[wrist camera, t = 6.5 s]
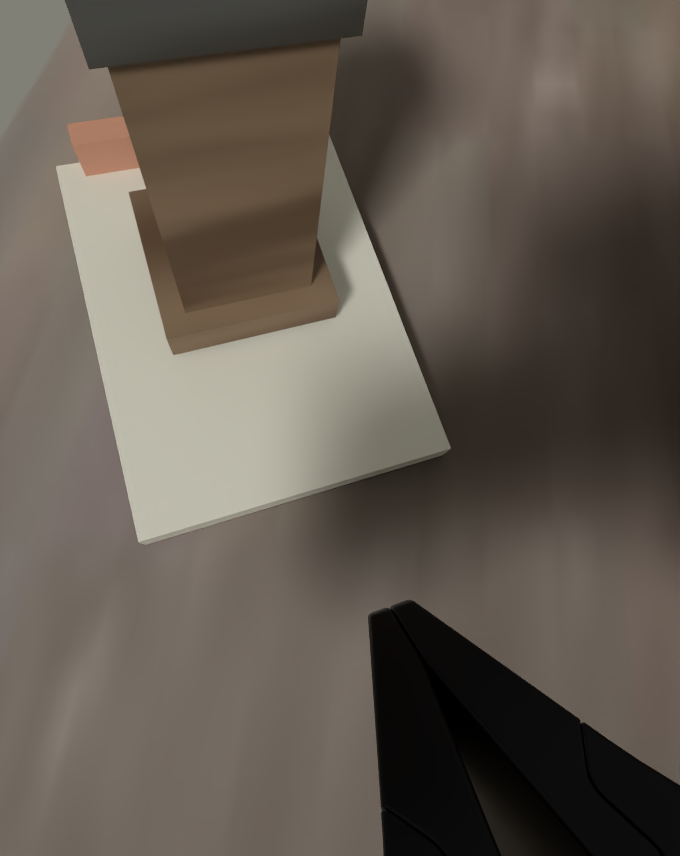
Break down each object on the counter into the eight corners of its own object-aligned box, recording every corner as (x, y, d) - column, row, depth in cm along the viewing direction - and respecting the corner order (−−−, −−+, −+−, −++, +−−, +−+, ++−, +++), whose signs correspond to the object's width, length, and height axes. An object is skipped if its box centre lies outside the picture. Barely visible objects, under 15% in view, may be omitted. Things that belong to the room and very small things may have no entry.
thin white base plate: (442, 455, 20) (465, 436, 18) (145, 544, 18) (126, 537, 15) (321, 137, 24) (326, 87, 21) (64, 179, 22) (38, 128, 19)
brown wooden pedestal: (335, 317, 20) (410, -17, 9) (173, 355, 19) (33, 22, 8) (289, 187, 21) (306, -234, 10) (136, 214, 20) (-24, -229, 9)
